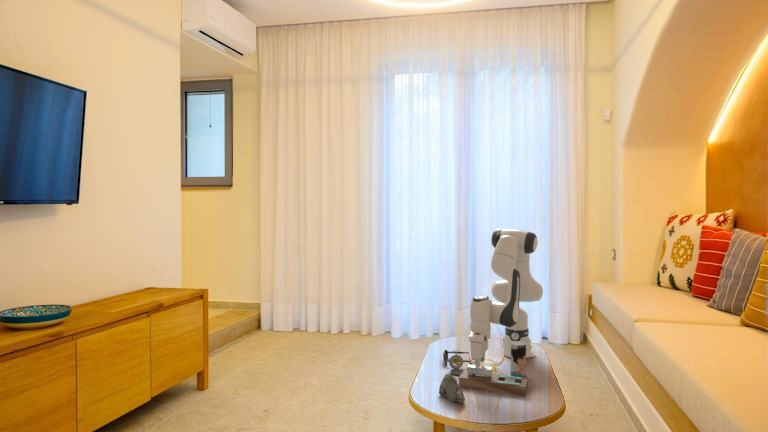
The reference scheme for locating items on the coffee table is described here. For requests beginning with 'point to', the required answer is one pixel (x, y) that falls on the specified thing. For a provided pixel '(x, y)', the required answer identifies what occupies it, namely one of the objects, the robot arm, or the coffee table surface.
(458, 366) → the pocket watch
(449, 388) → the mineral rock
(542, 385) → the coffee table surface
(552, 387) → the coffee table surface
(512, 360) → the cup
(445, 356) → the sunglasses
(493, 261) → the robot arm
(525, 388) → the slotted brown block
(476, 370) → the tall white block
